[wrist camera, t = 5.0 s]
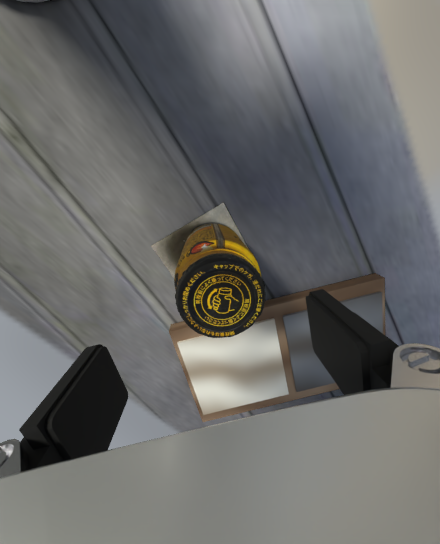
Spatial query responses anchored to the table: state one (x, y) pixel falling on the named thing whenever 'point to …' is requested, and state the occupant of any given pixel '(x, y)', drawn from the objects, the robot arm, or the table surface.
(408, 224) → the table surface
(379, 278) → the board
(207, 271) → the condiment
